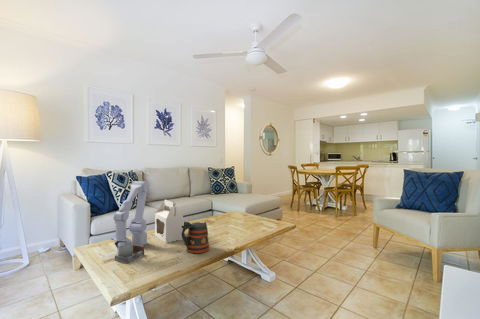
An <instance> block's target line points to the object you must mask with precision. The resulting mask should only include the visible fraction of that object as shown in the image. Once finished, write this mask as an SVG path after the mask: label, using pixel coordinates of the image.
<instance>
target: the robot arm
mask: <svg viewBox="0 0 480 319" xmlns="http://www.w3.org/2000/svg"><path fill="white" fill-rule="evenodd" d="M148 192H149V183H148V181H146V180H144V181H143V180H142V181H139V180H137V181H136V180H133V181H132V182H131V184H130V191H129V192H128V196H127V198H126V200H124V201H123V202H122V204H121V206H120V207H119V209H118V211H116V212H115V213H114V215H113V221H114V224H115V236H114V235H113V236H111V238H110V239H111V241H114V245H115V246H116V249H118V243H119V242H125V241H126V242H127V244H128V243H130V242H131V240H132V242H133V244H135V245H140V246H145V245H147V244H148V234H147V231H146V230H147V221H146V220H145V219H144V213H145V206H146V199H147V194H148ZM136 197H137V201H136V202H137V203H136V207H135V213H134V218H132V219H131V220H130V223H129V226H128V230H129V232H130V234H131V239H130V238H128V237H127V220H128V219H129V216H130V211H131V208H132V206H133V201H134V199H135V198H136Z"/></svg>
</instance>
